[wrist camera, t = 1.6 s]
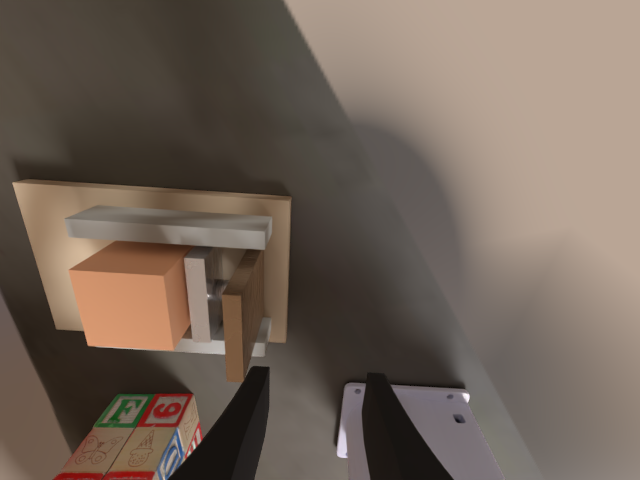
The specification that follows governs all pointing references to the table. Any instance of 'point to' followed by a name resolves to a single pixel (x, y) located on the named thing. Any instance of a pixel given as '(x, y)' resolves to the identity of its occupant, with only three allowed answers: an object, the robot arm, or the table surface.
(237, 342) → the sliding carriage
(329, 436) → the table surface
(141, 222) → the channel deck
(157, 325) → the terracotta block
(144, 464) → the stack of blocks
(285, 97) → the table surface
